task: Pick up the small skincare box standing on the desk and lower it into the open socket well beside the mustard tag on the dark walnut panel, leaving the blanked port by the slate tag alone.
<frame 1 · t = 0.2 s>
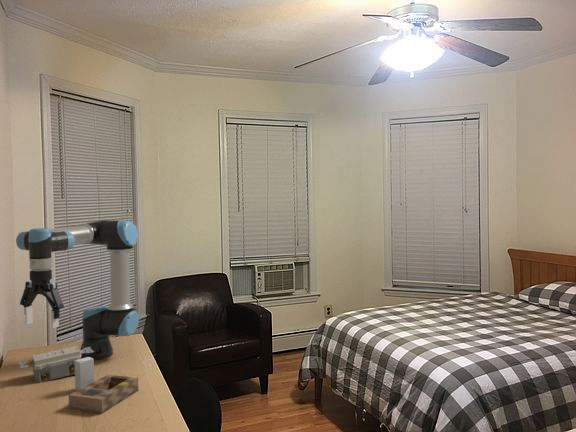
hand: (42, 325, 191), 27 cm above the table, fingers open, 13 cm apart
electrical outlet: (57, 376, 215), on the table
socket panel: (105, 399, 190), on the table
skincare box: (84, 390, 199), on the table
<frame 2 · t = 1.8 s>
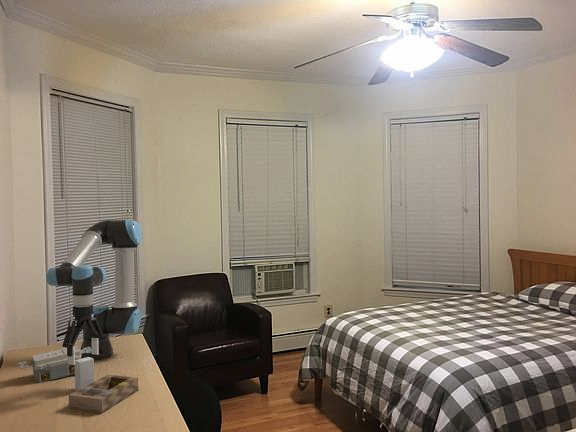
hand: (83, 359, 199), 12 cm above the table, fingers open, 13 cm apart
nothing on the table moved.
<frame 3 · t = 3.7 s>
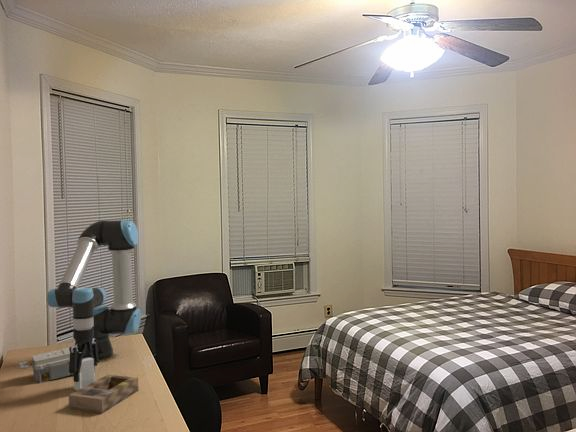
hand: (84, 385, 199), 2 cm above the table, fingers closed on skincare box, 7 cm apart
skincare box: (84, 390, 199), on the table, touching gripper
everything else where it was.
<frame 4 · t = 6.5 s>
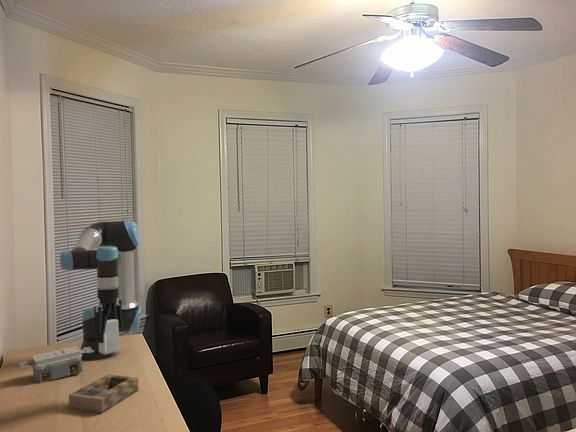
hand: (109, 348, 192), 19 cm above the table, fingers closed on skincare box, 7 cm apart
skincare box: (108, 352, 192), point 17 cm above the table, touching gripper
everything else where it was.
when the fingers open (5 cm above the table, at t = 9.4 s): skincare box drops 2 cm, resting on socket panel.
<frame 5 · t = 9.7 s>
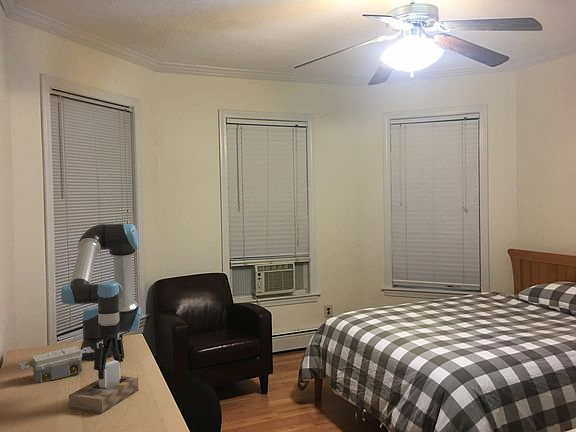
hand: (110, 382, 192), 5 cm above the table, fingers open, 8 cm apart
skincare box: (110, 394, 192), point 1 cm above the table, touching socket panel
everything else where it was.
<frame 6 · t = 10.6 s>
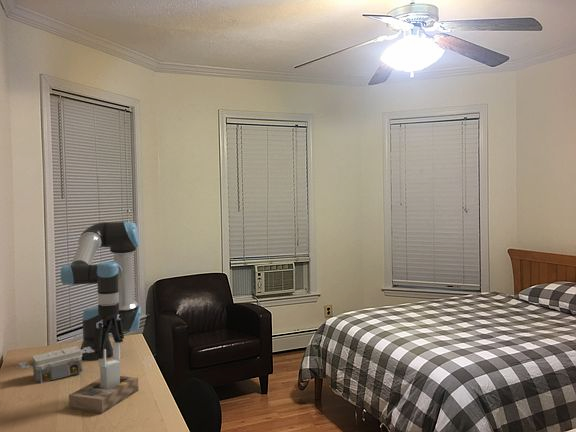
hand: (109, 362, 192), 13 cm above the table, fingers open, 8 cm apart
skincare box: (110, 394, 192), point 1 cm above the table, touching gripper, socket panel
everything else where it was.
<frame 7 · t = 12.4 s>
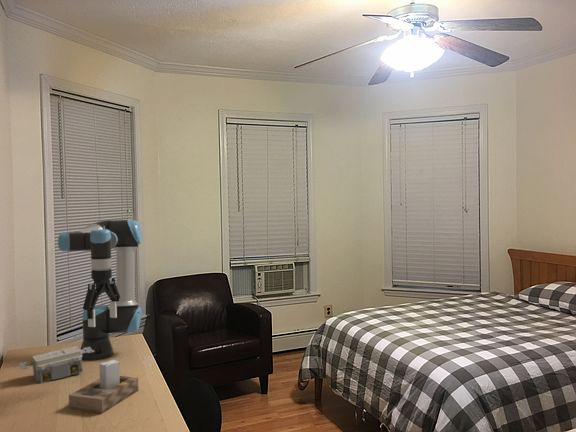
hand: (102, 322, 201), 26 cm above the table, fingers open, 13 cm apart
skincare box: (110, 394, 192), point 1 cm above the table, touching socket panel
everything else where it was.
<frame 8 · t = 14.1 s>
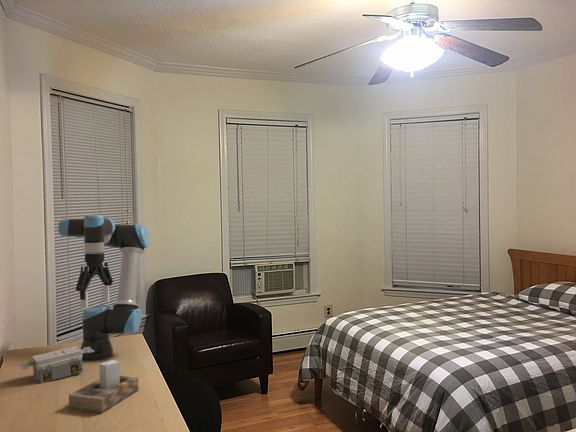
hand: (95, 304, 208), 32 cm above the table, fingers open, 13 cm apart
nothing on the table moved.
at the end: skincare box inside the target area on the socket panel (0.2 cm from its centre), point 0.8 cm above the socket panel's base; skincare box tilted 0°; the gripper is holding nothing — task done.
